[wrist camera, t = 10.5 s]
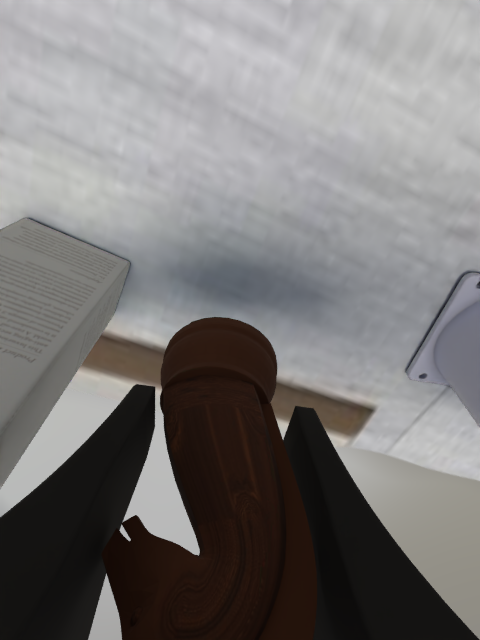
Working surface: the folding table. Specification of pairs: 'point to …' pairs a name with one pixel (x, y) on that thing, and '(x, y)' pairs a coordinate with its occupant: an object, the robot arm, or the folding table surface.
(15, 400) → the cosmetic box
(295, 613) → the chess piece
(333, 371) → the folding table surface
